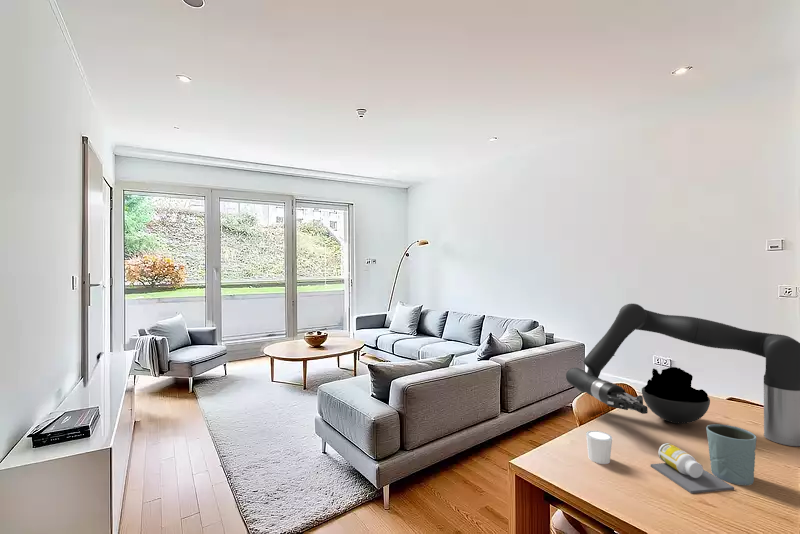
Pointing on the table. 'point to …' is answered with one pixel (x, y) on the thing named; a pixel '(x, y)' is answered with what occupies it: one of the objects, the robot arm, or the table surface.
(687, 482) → the mat
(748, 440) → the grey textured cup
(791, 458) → the table surface
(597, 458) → the shot glass
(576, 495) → the table surface
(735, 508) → the table surface
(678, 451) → the supplement bottle
